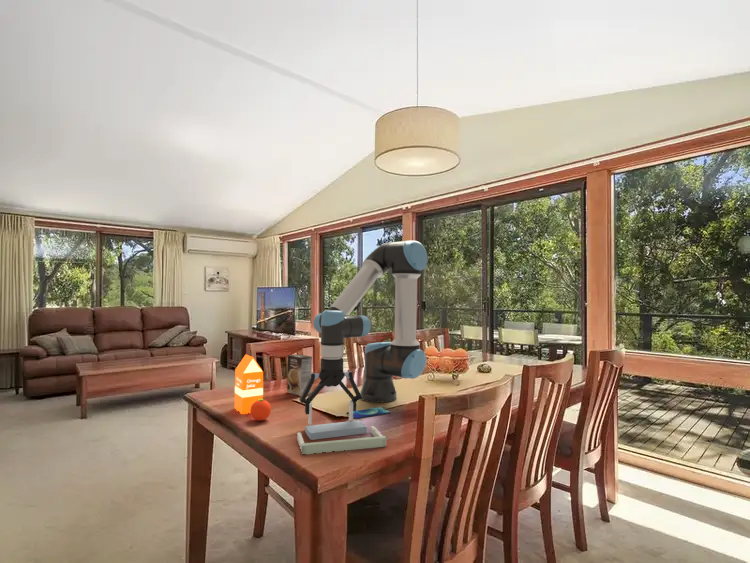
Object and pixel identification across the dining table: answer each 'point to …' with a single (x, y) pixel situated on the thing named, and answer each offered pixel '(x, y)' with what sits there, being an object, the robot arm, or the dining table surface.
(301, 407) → the dining table surface
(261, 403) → the clementine
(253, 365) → the orange juice
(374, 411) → the smartphone
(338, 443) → the docking bay
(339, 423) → the blue-grey rectangular slab
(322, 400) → the dining table surface
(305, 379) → the coffee box
